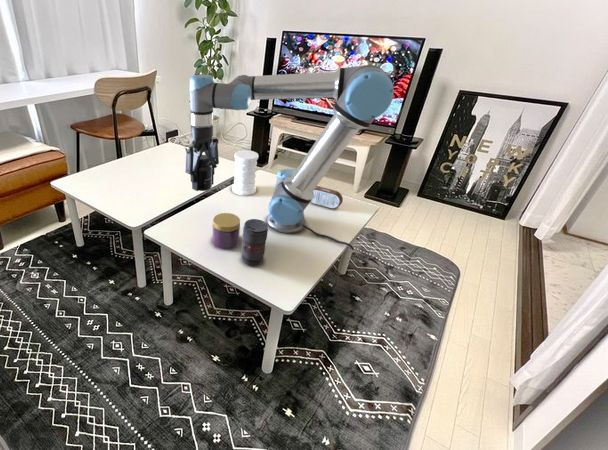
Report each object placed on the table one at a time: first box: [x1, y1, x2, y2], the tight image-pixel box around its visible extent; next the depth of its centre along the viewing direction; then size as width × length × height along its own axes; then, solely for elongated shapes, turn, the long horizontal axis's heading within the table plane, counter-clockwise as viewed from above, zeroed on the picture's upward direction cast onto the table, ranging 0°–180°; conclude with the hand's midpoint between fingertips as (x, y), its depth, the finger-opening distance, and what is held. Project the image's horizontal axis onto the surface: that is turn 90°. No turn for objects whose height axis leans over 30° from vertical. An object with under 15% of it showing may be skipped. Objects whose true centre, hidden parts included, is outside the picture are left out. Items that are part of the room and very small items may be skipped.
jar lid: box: [212, 212, 241, 232], centre depth 125 cm, size 10×10×2 cm
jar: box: [212, 225, 241, 250], centre depth 127 cm, size 10×10×9 cm
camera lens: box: [241, 218, 269, 267], centre depth 116 cm, size 8×8×15 cm
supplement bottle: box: [193, 154, 213, 192], centre depth 124 cm, size 7×7×12 cm
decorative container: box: [231, 149, 260, 196], centre depth 160 cm, size 12×12×18 cm
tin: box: [310, 185, 344, 210], centre depth 150 cm, size 15×3×8 cm, turn 58°
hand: (203, 186), depth 127 cm, fingers closed on supplement bottle, 7 cm apart
